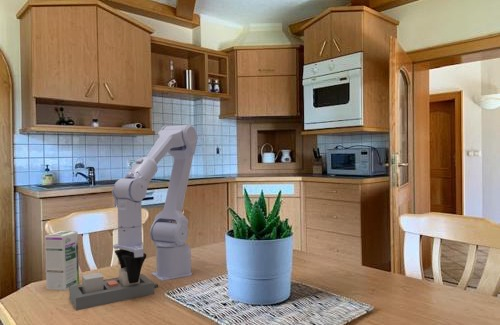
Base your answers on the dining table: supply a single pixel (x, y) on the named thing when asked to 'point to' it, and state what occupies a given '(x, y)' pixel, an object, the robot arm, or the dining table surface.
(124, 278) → the plug
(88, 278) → the strip
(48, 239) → the syrup box
